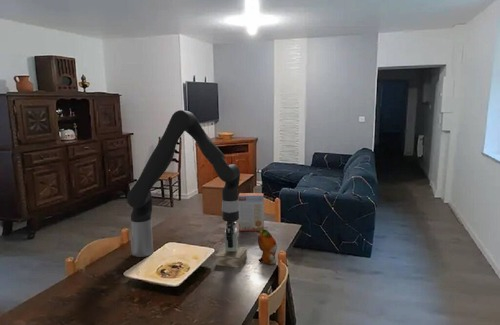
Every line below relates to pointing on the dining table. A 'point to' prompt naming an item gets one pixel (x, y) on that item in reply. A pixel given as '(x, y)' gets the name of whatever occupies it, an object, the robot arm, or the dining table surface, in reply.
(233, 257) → the beige box
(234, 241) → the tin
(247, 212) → the cracker box
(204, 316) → the dining table surface
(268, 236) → the toy
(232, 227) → the robot arm
